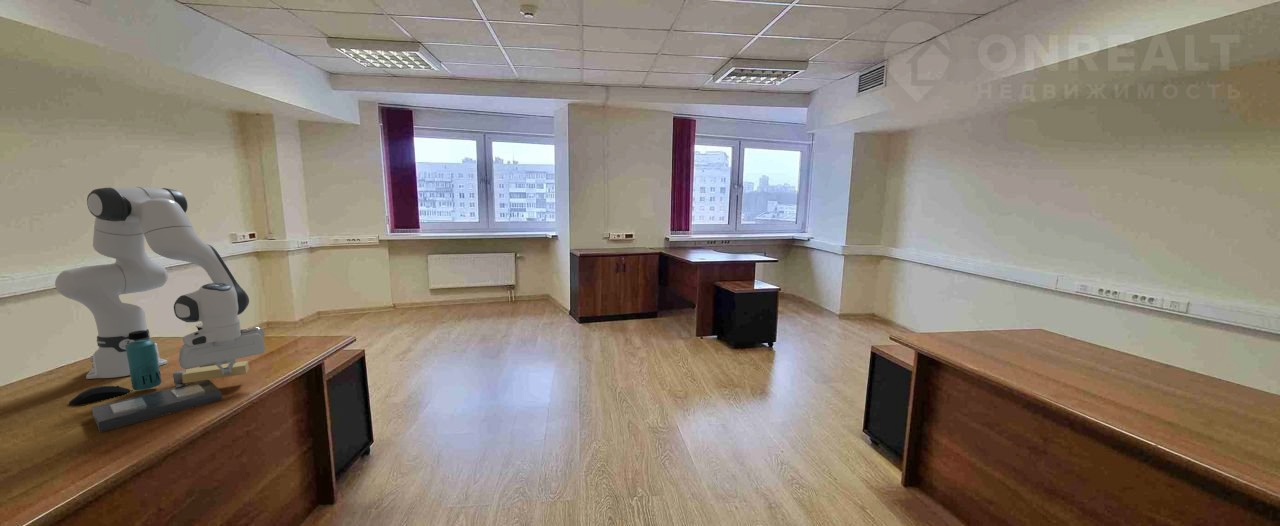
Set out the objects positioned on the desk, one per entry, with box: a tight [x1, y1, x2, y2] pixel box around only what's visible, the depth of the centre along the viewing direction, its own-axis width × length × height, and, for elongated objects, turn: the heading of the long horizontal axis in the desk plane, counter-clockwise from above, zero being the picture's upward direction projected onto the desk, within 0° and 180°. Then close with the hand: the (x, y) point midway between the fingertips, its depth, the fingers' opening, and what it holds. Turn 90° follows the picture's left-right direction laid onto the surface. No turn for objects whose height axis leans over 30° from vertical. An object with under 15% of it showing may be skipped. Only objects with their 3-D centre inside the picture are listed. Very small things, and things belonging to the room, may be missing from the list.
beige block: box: [172, 360, 250, 384], centre depth 141 cm, size 18×5×3 cm, turn 125°
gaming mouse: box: [68, 385, 134, 406], centre depth 134 cm, size 6×15×4 cm, turn 145°
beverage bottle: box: [125, 330, 162, 391], centre depth 138 cm, size 6×7×20 cm
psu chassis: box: [91, 379, 223, 433], centre depth 129 cm, size 17×24×4 cm
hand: (226, 373), depth 141 cm, fingers closed
